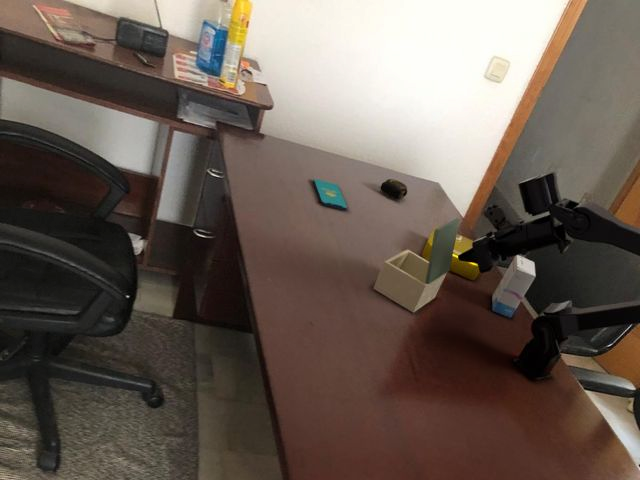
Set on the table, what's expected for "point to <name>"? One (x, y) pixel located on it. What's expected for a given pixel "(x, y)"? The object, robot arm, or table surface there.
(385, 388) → the table surface
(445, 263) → the lid
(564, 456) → the table surface
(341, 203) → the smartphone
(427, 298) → the tin
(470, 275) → the element tile
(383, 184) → the tape measure
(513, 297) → the ink box
